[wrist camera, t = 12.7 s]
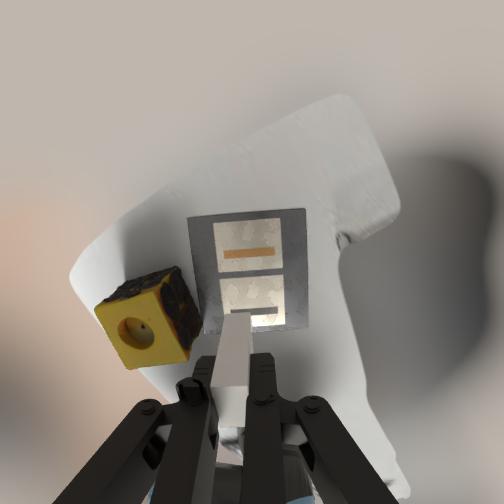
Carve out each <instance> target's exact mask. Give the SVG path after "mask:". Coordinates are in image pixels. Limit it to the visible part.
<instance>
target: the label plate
mask: <svg viewBox="0 0 504 504" xmlns="http://www.w3.org/2000/svg"><path fill="white" fill-rule="evenodd" d="M187 221H188V229H189V237H190V245H191V252H192V259H193V266H194V273H195V280H196V286H197V293H198V299H199V305H200V311H201V317H202V322H203V328H204V333H205V334H221V332H222V327H223V322H224V318H225V314H229V313H246V312H250V315H251V326H252V332H261V331H275V330H287V329H298V328H308V263H307V231H306V210H305V209H294V210H279V211H265V212H251V213H239V214H227V215H216V216H205V217H195V218H187Z"/></svg>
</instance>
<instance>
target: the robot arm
mask: <svg viewBox="0 0 504 504" xmlns="http://www.w3.org/2000/svg"><path fill="white" fill-rule="evenodd" d="M175 387H176V390H177V393H178V396H179V399H180V400H179V402H176V403H173V404H168V405H162V404H161V403H160V402H159V401H157V400H155V399H145V400H142V401H140V402H138V403H137V404H136V405H135V406H134V407H133V409H132V410H131V411H130V412H129V413H128V415H127V416H126V417H125V418H124V419H123V421H122V422H121V423H120V424H119V425H118V427H117V428H116V429H115V430H114V431H113V433H112V434H111V435H110V436H109V437H108V439H107V440H106V441H105V442H104V443H103V444H102V446H101V447H100V448H99V449H98V451H97V452H96V453H95V454H94V455H93V456H92V458H91V459H90V460H89V461H88V462H87V463H86V465H85V466H84V467H83V468H82V469H81V470H80V472H79V473H78V474H77V475H76V476H75V478H74V479H73V480H72V481H71V482H70V483H69V485H68V486H67V487H66V488H65V489H64V490H63V492H62V493H61V494H60V495H59V496H58V497H57V499H56V500H55V501H54V502H53V503H52V504H141V503H142V501H143V500H144V498H145V496H146V495H147V494H148V492H150V493H149V496H148V499H147V503H148V504H314V500H315V497H314V494H313V488H312V482H313V484H314V486H315V488H316V490H317V491H318V493H319V495H320V497H321V499H322V501H323V503H324V504H399V503H398V502H397V500H396V499H395V497H394V496H393V495H392V493H391V492H390V491H389V489H388V488H387V486H386V485H385V484H384V482H383V481H382V479H381V478H380V477H379V475H378V474H377V472H376V471H375V470H374V468H373V467H372V465H371V464H370V463H369V461H368V460H367V458H366V457H365V455H364V454H363V453H362V451H361V450H360V448H359V447H358V445H357V444H356V443H355V441H354V440H353V438H352V437H351V435H350V434H349V433H348V431H347V430H346V428H345V427H344V425H343V424H342V422H341V421H340V419H339V418H338V417H337V415H336V414H335V412H334V411H333V409H332V408H331V406H330V405H329V403H328V402H327V401H326V400H325V399H324V398H322V397H319V396H306V397H304V398H302V399H300V400H299V401H298V402H293V401H288V400H285V399H283V398H282V397H281V396H280V395H279V394H278V392H277V384H276V373H275V363H274V357H273V356H272V355H271V354H270V353H256V354H254V347H253V336H252V326H251V315H250V312H246V313H229V314H225V318H224V322H223V327H222V332H221V336H220V341H219V346H218V351H217V355H216V356H201V358H200V359H199V360H198V361H197V362H196V365H195V368H194V371H193V375H192V377H188V378H185V379H182V380H181V381H179V382H178V383H177V384H176V386H175ZM218 422H219V425H220V427H239V429H238V444H239V447H240V449H241V452H242V455H243V466H240V465H233V464H226V463H220V462H216V457H217V449H218V441H219V432H218ZM311 480H312V482H311ZM149 490H150V491H149Z"/></svg>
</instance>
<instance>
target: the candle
mask: <svg viewBox="0 0 504 504" xmlns="http://www.w3.org/2000/svg"><path fill="white" fill-rule="evenodd" d="M94 311H95V314H96V316H97V318H98V319H99V321H100V323H101V325H102V326H103V328H104V330H105V331H106V333H107V335H108V337H109V339H110V341H111V342H112V344H113V346H114V347H115V349H116V351H117V352H118V355H119V357H120V358H121V360H122V362H123V364H124V365H125V367H126V369H129V370H132V369H137V368H140V367H150V366H157V365H165V364H174V363H182V362H187V361H188V360H189V358H190V352H191V350H192V347H191V346H192V343H193V341H194V340H195V339H196V337H198V336H199V332H200V331H201V328H202V326H203V322H202V321H201V318H200V315H199V314H198V309H197V308H196V306H195V303H194V301H193V298H192V297H191V295H190V292H189V290H188V287H187V286H186V284H185V282H184V280H183V278H182V276H181V270H180V269H179V268H178V267H177V266H174V267H172V268H169V269H165V270H163V271H159V272H154V273H152V274H149V275H146V276H143V277H138V278H137V279H133V280H130V281H126V282H124V283H123V285H121V286H119V287H118V288H117V290H116V291H115V292H114V293H113V294H112V295H110V297H109V298H106V299H104V300H103V301H102V302H101V303H100V304H98V305H97V306H96V307H95V308H94Z"/></svg>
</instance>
